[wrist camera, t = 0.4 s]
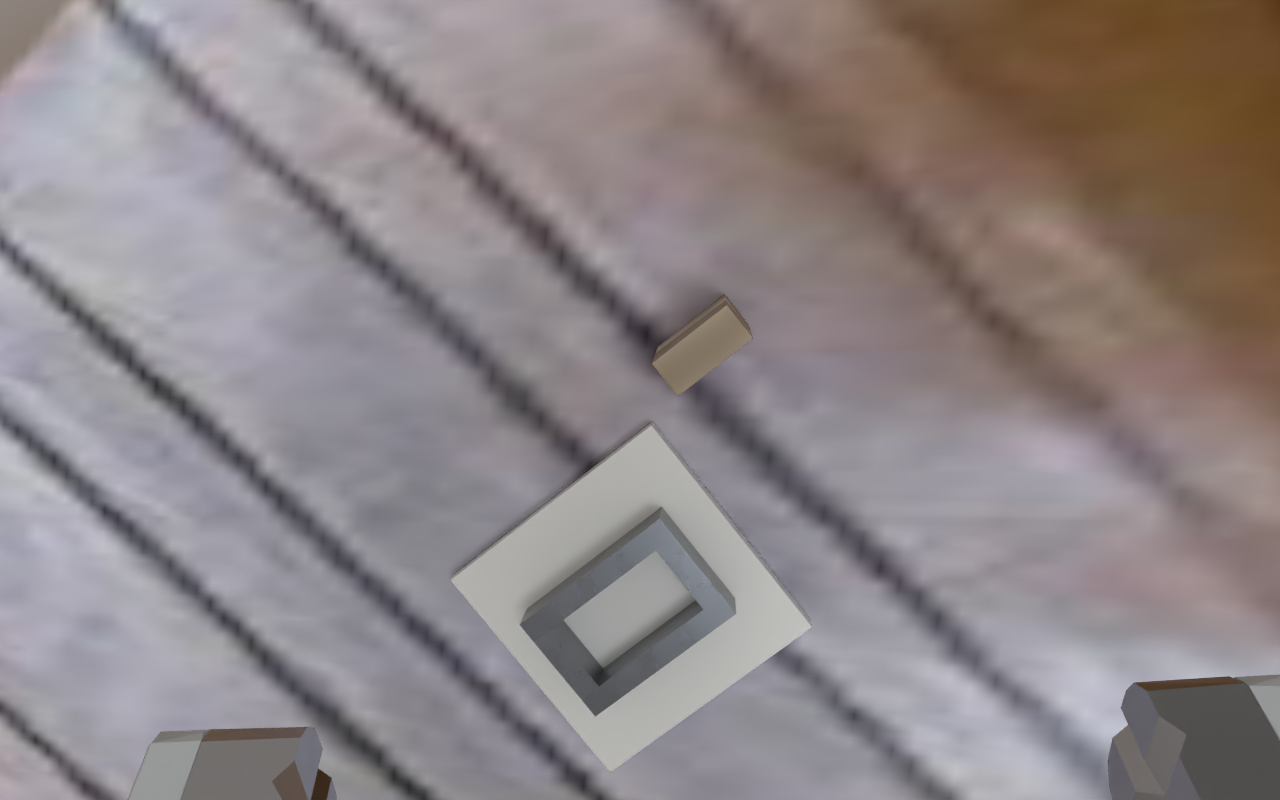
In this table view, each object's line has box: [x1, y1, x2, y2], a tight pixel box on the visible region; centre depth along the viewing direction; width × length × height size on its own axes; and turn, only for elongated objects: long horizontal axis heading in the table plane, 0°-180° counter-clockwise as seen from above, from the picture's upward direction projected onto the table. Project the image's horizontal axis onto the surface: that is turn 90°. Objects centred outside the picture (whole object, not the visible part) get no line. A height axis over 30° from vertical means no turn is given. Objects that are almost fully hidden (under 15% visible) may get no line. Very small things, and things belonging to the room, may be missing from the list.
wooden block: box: [652, 295, 753, 396], centre depth 59 cm, size 2×4×7 cm, turn 129°
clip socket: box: [519, 507, 736, 717], centre depth 63 cm, size 6×9×2 cm
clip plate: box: [451, 422, 812, 772], centre depth 65 cm, size 14×14×1 cm
